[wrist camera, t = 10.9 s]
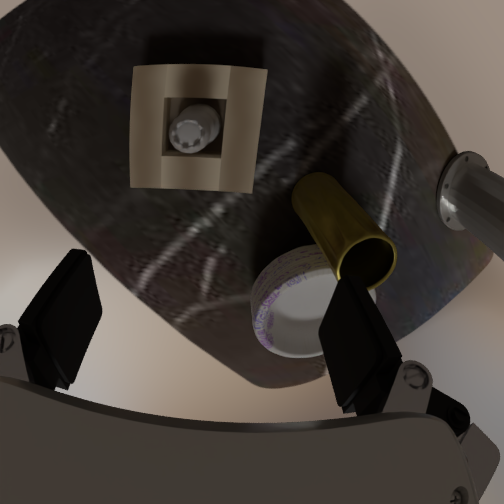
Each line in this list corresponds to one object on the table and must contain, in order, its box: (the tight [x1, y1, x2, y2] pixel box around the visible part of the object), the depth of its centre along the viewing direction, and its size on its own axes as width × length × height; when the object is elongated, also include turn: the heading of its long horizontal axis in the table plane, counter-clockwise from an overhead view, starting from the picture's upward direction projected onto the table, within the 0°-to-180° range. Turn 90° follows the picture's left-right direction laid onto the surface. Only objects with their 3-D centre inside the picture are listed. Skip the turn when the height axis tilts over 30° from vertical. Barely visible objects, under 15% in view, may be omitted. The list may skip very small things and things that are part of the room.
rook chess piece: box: [169, 104, 221, 153], centre depth 22 cm, size 4×4×8 cm
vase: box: [291, 172, 397, 291], centre depth 25 cm, size 6×6×14 cm
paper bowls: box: [251, 244, 376, 358], centre depth 34 cm, size 15×15×8 cm
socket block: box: [130, 64, 267, 193], centre depth 24 cm, size 12×12×4 cm
